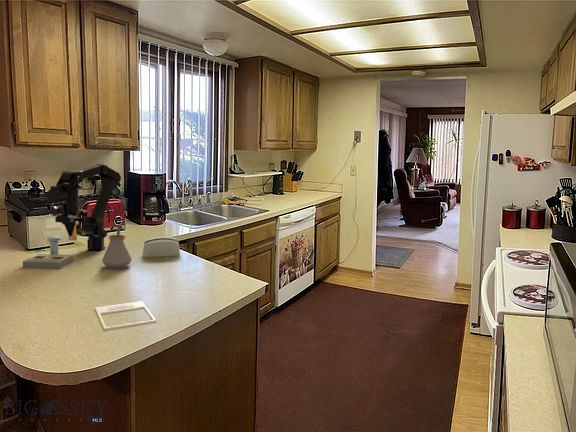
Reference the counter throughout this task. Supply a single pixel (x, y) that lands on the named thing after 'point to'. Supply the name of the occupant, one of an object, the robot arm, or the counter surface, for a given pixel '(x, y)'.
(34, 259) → the block
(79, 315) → the counter surface
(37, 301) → the counter surface
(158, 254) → the grey arched block
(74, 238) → the jaw orange
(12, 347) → the counter surface
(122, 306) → the photo frame
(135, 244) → the counter surface
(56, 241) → the blue peg
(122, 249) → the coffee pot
